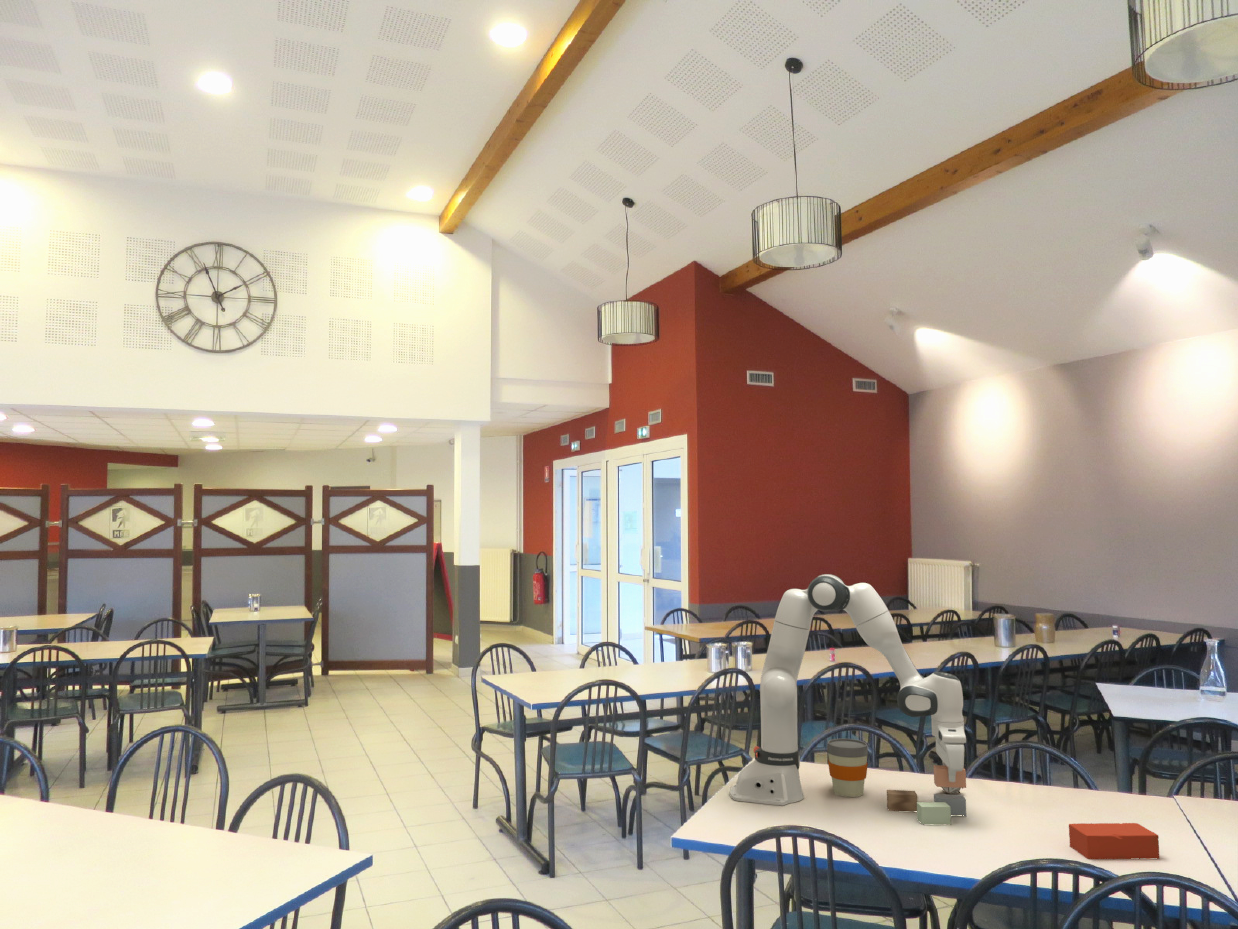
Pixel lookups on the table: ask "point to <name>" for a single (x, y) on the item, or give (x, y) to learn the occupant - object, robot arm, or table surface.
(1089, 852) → the brick
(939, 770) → the terracotta block
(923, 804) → the sage block
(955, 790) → the game die
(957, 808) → the slate block
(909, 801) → the walnut block
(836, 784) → the reusable coffee cup
